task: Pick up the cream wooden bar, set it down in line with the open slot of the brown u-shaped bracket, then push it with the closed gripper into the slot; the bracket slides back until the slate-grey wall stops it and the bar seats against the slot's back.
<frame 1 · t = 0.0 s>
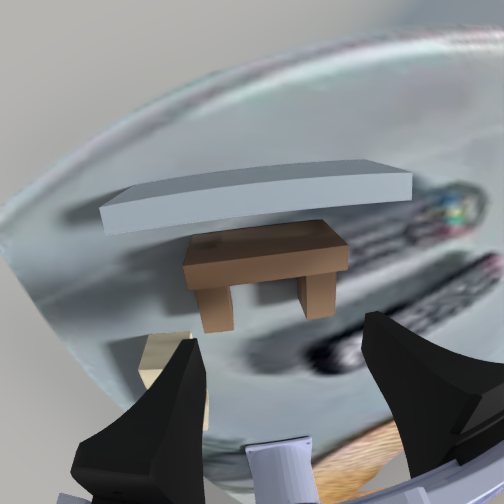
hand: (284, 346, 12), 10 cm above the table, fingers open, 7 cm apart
backstop wall: (253, 179, 20), on the table
brown u-shaped bracket: (266, 283, 20), point 3 cm above the table, slide at 0.0 cm
cream wooden bar: (180, 366, 25), on the table
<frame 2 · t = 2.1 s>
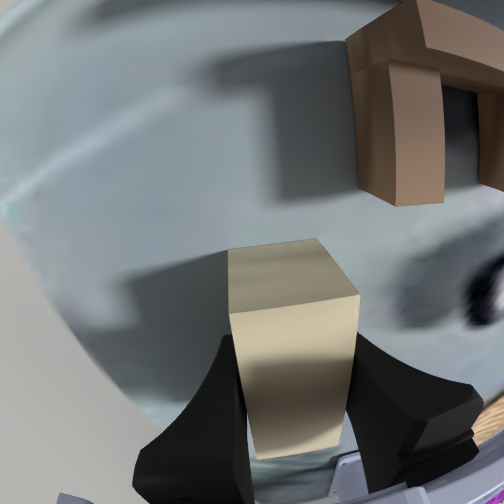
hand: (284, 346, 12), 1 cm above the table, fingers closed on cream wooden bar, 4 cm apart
brown u-shaped bracket: (481, 119, 8), point 3 cm above the table, slide at 0.0 cm
cream wooden bar: (279, 326, 14), on the table, touching gripper
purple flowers: (451, 498, 41), on the table
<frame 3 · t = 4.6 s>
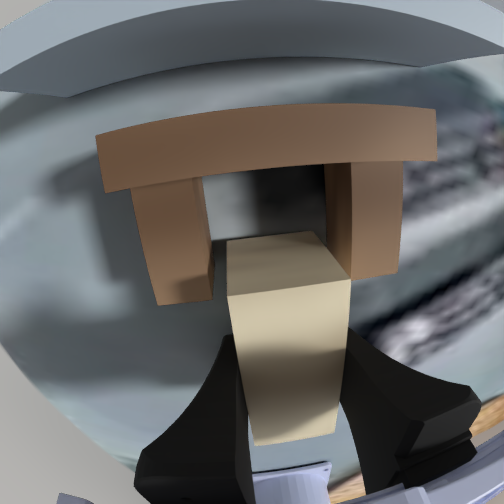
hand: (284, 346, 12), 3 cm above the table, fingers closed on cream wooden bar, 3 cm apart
backstop wall: (249, 42, 10), on the table
brown u-shaped bracket: (275, 203, 10), point 3 cm above the table, slide at 0.0 cm
cream wooden bar: (276, 315, 14), on the table, touching gripper
when the fingers open (3 cm above the table, at t = 4.8 s): cream wooden bar stays where it is, on the table.
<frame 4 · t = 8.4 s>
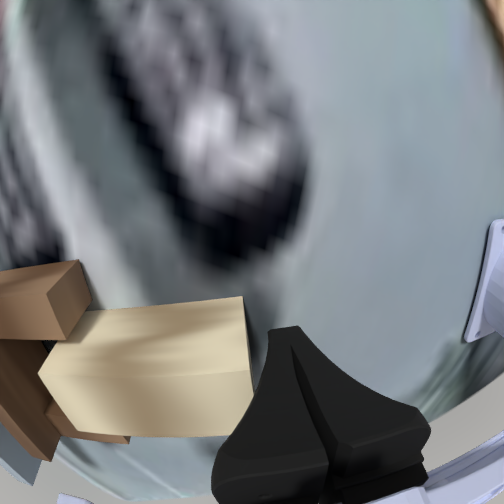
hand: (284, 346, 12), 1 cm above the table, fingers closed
brown u-shaped bracket: (44, 375, 11), point 3 cm above the table, slide at 0.0 cm
cream wooden bar: (162, 337, 14), on the table, touching gripper
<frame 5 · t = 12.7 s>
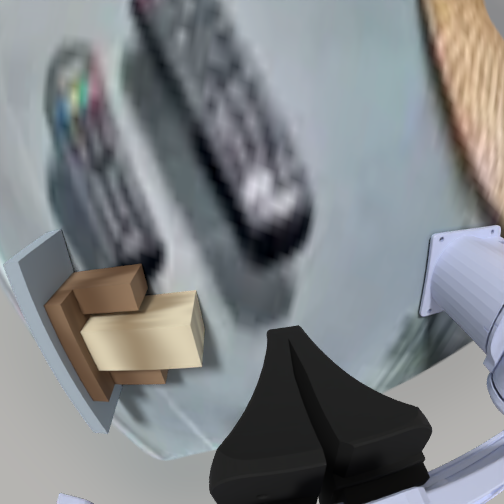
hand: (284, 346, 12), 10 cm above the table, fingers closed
backstop wall: (84, 320, 22), on the table
brown u-shaped bracket: (113, 337, 20), point 3 cm above the table, slide at 2.5 cm, touching backstop wall
cream wooden bar: (151, 314, 23), on the table
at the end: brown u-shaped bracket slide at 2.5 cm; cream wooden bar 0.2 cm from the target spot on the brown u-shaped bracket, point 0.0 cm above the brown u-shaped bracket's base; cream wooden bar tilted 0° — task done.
